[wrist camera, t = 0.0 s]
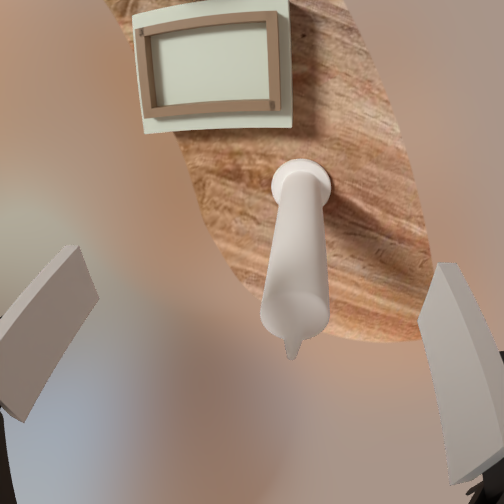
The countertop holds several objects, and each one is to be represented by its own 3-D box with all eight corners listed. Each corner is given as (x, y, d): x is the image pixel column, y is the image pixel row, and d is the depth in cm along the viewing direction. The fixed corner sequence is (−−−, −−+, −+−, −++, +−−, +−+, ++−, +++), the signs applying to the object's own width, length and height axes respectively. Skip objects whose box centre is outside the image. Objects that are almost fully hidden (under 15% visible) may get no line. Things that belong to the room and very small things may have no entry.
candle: (325, 153, 35) (351, 308, 15) (334, 208, 39) (354, 386, 19) (265, 163, 37) (213, 320, 17) (278, 216, 41) (247, 392, 20)
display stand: (148, 17, 28) (125, 14, 24) (289, 1, 26) (286, -9, 22) (158, 126, 36) (138, 137, 32) (292, 120, 34) (291, 131, 29)
